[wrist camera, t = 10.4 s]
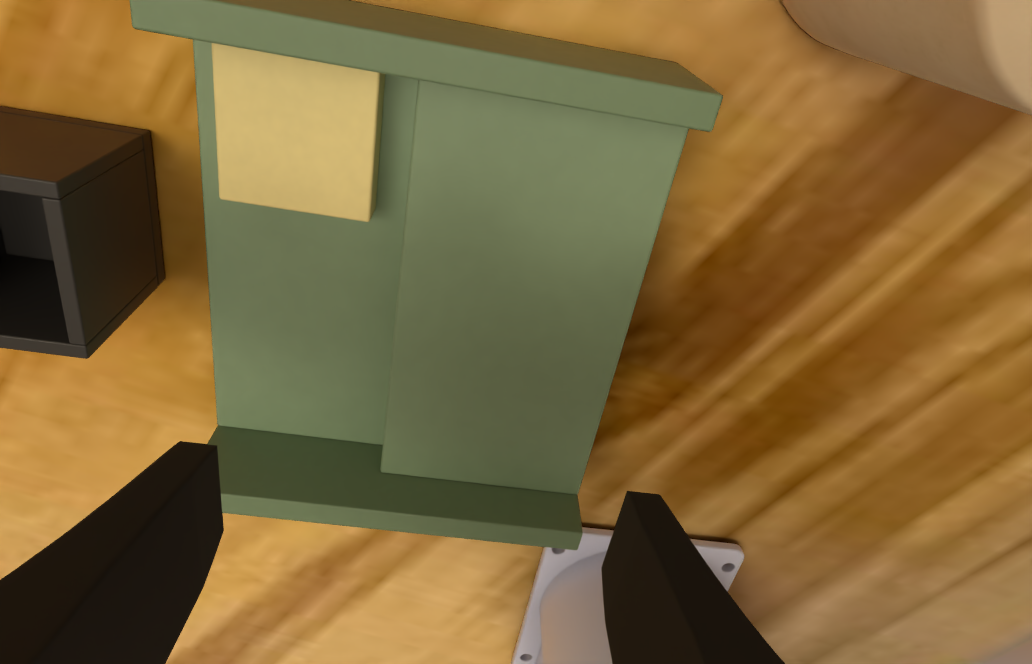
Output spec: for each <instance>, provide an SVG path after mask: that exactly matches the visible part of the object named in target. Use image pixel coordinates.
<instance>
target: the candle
mask: <svg viewBox="0 0 1032 664" xmlns="http://www.w3.org/2000/svg"><path fill="white" fill-rule="evenodd" d="M782 2H783V4H784V6H785V8H786V9H787V11H788V13H789V14H790V16H791V17H792V18H793V19H794V21H795V22H796V23H797V24H798V25H799V26H800V27H801V28H802V29H803V30H804V31H805V32H806V33H808V34H809V35H810V36H811V37H813V38H814V39H816V40H817V41H819V42H821V43H822V44H825V45H827V46H830V47H832V48H835V49H837V50H840V51H842V52H845V53H847V54H850V55H853V56H856V57H859V58H862V59H865V60H868V61H871V62H874V63H877V64H880V65H883V66H886V67H889V68H892V69H895V70H898V71H901V72H904V73H907V74H910V75H913V76H916V77H919V78H922V79H925V80H928V81H931V82H934V83H937V84H940V85H943V86H946V87H949V88H952V89H955V90H958V91H961V92H964V93H967V94H970V95H973V96H976V97H979V98H982V99H985V100H988V101H991V102H994V103H997V104H1000V105H1003V106H1006V107H1009V108H1012V109H1015V110H1018V111H1021V112H1024V113H1027V114H1030V115H1032V0H782Z"/></svg>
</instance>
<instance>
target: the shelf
mask: <svg viewBox="0 0 1032 664" xmlns="http://www.w3.org/2000/svg"><path fill="white" fill-rule="evenodd" d="M130 9H131V18H132V26H133V28H135V29H138V30H143V31H149V32H154V33H160V34H166V35H171V36H177V37H182V38H188V39H193V48H194V64H195V80H196V95H197V111H198V127H199V142H200V158H201V174H202V189H203V205H204V221H205V237H206V252H207V268H208V284H209V299H210V315H211V331H212V346H213V362H214V378H215V393H216V409H217V424H218V426H217V428H216V430H215V432H214V433H213V435H212V437H211V438H210V440H209V442H208V444H209V445H217V450H218V463H219V476H220V489H221V502H222V513H229V514H239V515H248V516H257V517H267V518H276V519H286V520H295V521H304V522H314V523H323V524H333V525H342V526H352V527H361V528H370V529H380V530H389V531H399V532H408V533H417V534H427V535H436V536H446V537H455V538H464V539H474V540H483V541H493V542H502V543H512V544H521V545H530V546H540V547H549V548H559V549H568V550H578V547H579V544H580V541H581V538H582V535H583V531H582V524H581V517H580V510H579V502H578V495H577V494H578V492H579V489H580V486H581V483H582V479H583V476H584V473H585V469H586V466H587V463H588V459H589V456H590V453H591V450H592V446H593V443H594V440H595V436H596V433H597V430H598V427H599V423H600V420H601V417H602V413H603V410H604V407H605V403H606V400H607V397H608V394H609V390H610V387H611V384H612V380H613V377H614V374H615V370H616V367H617V364H618V361H619V357H620V354H621V351H622V347H623V344H624V341H625V338H626V334H627V331H628V328H629V324H630V321H631V318H632V314H633V311H634V308H635V305H636V301H637V298H638V295H639V291H640V288H641V285H642V281H643V278H644V275H645V272H646V268H647V265H648V262H649V258H650V255H651V252H652V249H653V245H654V242H655V239H656V235H657V232H658V229H659V225H660V222H661V219H662V216H663V212H664V209H665V206H666V202H667V199H668V196H669V192H670V189H671V186H672V183H673V179H674V176H675V173H676V169H677V166H678V163H679V160H680V156H681V153H682V150H683V146H684V143H685V140H686V136H687V133H688V130H689V128H690V129H695V130H701V131H706V132H710V131H712V130H713V127H714V124H715V121H716V117H717V114H718V111H719V108H720V105H721V102H722V99H723V95H721V94H720V93H719V92H717V91H716V90H714V89H713V88H712V87H710V86H709V85H707V84H706V83H705V82H703V81H702V80H700V79H699V78H698V77H696V76H695V75H693V74H692V73H691V72H689V71H688V70H686V69H685V68H683V67H682V66H681V65H679V64H678V63H676V62H671V61H666V60H660V59H655V58H650V57H645V56H639V55H634V54H629V53H624V52H618V51H613V50H608V49H602V48H597V47H592V46H587V45H581V44H576V43H571V42H566V41H560V40H555V39H550V38H545V37H539V36H534V35H529V34H524V33H518V32H513V31H508V30H503V29H497V28H492V27H487V26H481V25H476V24H471V23H466V22H460V21H455V20H450V19H445V18H439V17H434V16H429V15H424V14H418V13H413V12H408V11H403V10H397V9H392V8H387V7H381V6H376V5H371V4H366V3H360V2H355V1H350V0H130ZM212 43H216V44H221V45H227V46H233V47H238V48H244V49H249V50H255V51H260V52H266V53H272V54H277V55H283V56H288V57H294V58H299V59H305V60H311V61H316V62H322V63H327V64H333V65H338V66H344V67H350V68H355V69H361V70H366V71H372V72H377V73H383V74H385V85H384V99H383V112H382V126H381V140H380V153H379V167H378V181H377V194H376V208H375V210H374V213H373V215H372V217H371V219H370V221H369V222H364V221H357V220H351V219H344V218H338V217H331V216H325V215H319V214H312V213H306V212H299V211H293V210H286V209H280V208H273V207H267V206H261V205H254V204H248V203H241V202H235V201H228V200H222V199H220V197H219V180H218V161H217V141H216V121H215V102H214V82H213V62H212Z"/></svg>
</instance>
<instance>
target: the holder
mask: <svg viewBox="0 0 1032 664" xmlns="http://www.w3.org/2000/svg"><path fill="white" fill-rule="evenodd" d="M164 279H165V276H164V266H163V256H162V246H161V236H160V226H159V216H158V207H157V197H156V187H155V177H154V167H153V157H152V147H151V137H150V131H148V130H143V129H137V128H131V127H125V126H119V125H112V124H106V123H100V122H94V121H88V120H82V119H76V118H70V117H64V116H58V115H51V114H45V113H39V112H33V111H27V110H21V109H15V108H9V107H3V106H0V348H7V349H15V350H23V351H31V352H39V353H46V354H54V355H62V356H70V357H78V358H86V359H87V358H89V357H90V356H91V355H92V354H93V353H94V352H95V351H96V350H97V349H98V348H99V347H100V346H101V345H102V344H103V343H104V342H105V341H106V340H107V338H108V337H109V336H110V335H111V334H112V333H113V332H114V331H115V330H116V329H117V328H118V327H119V326H120V325H121V324H122V323H123V322H124V321H125V320H126V319H127V318H128V317H129V316H130V315H131V314H132V313H133V312H134V311H135V310H136V309H137V308H138V307H139V306H140V305H141V304H142V303H143V301H144V300H145V299H146V298H147V297H148V296H149V295H150V294H151V293H152V292H153V291H154V290H155V289H156V288H157V287H158V286H159V285H160V284H161V283H162V282H163V281H164Z"/></svg>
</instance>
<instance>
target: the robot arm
mask: <svg viewBox="0 0 1032 664" xmlns="http://www.w3.org/2000/svg"><path fill="white" fill-rule="evenodd" d="M223 531H224V528H223V515H222V502H221V489H220V476H219V463H218V450H217V445H209V444H200V443H191V442H182V441H180V442H179V443H177V444H176V445H174V446H173V447H172V448H171V449H169V450H168V451H167V452H166V453H164V454H163V455H162V456H161V457H160V458H158V459H157V460H156V461H155V462H154V463H152V464H151V465H150V466H149V467H148V468H146V469H145V470H144V471H143V472H142V473H140V474H139V475H138V476H137V477H135V478H134V479H133V480H132V481H131V482H129V483H128V484H127V485H126V486H124V487H123V488H122V489H121V490H120V491H118V492H117V493H116V494H115V495H113V496H112V497H111V498H110V499H109V500H107V501H106V502H105V503H103V504H102V505H101V506H100V507H98V508H97V509H96V510H94V511H93V512H92V513H91V514H89V515H88V516H87V517H86V518H84V519H83V520H82V521H80V522H79V523H78V524H77V525H75V526H74V527H73V528H72V529H70V530H69V531H68V532H66V533H65V534H64V535H62V536H61V537H60V538H58V539H57V540H56V541H54V542H53V543H51V544H50V545H49V546H47V547H46V548H44V549H43V550H42V551H40V552H39V553H37V554H36V555H35V556H33V557H32V558H31V559H29V560H28V561H26V562H25V563H24V564H22V565H21V566H19V567H18V568H17V569H15V570H14V571H12V572H11V573H10V574H8V575H7V576H5V577H4V578H2V579H1V580H0V664H165V663H166V661H167V659H168V657H169V655H170V653H171V651H172V649H173V647H174V645H175V643H176V641H177V639H178V637H179V635H180V633H181V631H182V629H183V627H184V625H185V623H186V621H187V619H188V617H189V615H190V613H191V611H192V609H193V607H194V605H195V603H196V601H197V599H198V597H199V595H200V593H201V591H202V589H203V587H204V584H205V581H206V578H207V576H208V573H209V570H210V568H211V565H212V562H213V560H214V557H215V554H216V551H217V548H218V545H219V542H220V539H221V537H222V534H223ZM582 531H583V535H582V538H581V541H580V544H579V547H578V550H568V549H559V548H549V547H544V548H543V552H542V555H541V559H540V562H539V566H538V569H537V573H536V576H535V580H534V583H533V587H532V590H531V594H530V597H529V601H528V605H527V608H526V612H525V615H524V619H523V622H522V626H521V629H520V633H519V636H518V640H517V643H516V647H515V650H514V654H513V657H512V661H511V664H785V663H784V662H783V661H782V660H781V659H780V657H779V656H778V655H777V654H776V653H775V652H774V650H773V649H772V648H771V647H770V646H769V644H768V643H767V642H766V641H765V639H764V638H763V637H762V636H761V635H760V633H759V632H758V631H757V630H756V628H755V627H754V626H753V625H752V623H751V622H750V621H749V620H748V618H747V617H746V616H745V615H744V613H743V612H742V611H741V609H740V608H739V607H738V605H737V604H736V603H735V601H734V600H733V599H732V597H731V596H730V595H729V593H728V592H727V591H728V589H729V587H730V585H731V584H732V582H733V580H734V578H735V576H736V574H737V572H738V570H739V568H740V566H741V564H742V562H743V560H744V554H743V551H742V549H741V547H740V546H739V545H737V544H732V543H723V542H714V541H705V540H696V539H690V538H689V537H688V535H687V534H686V532H685V531H684V529H683V528H682V526H681V525H680V523H679V522H678V520H677V519H676V517H675V516H674V514H673V513H672V511H671V510H670V509H669V507H668V506H667V504H666V503H665V501H664V500H663V498H662V497H661V496H660V495H659V494H650V493H641V492H632V491H627V493H626V496H625V499H624V502H623V505H622V508H621V511H620V514H619V517H618V520H617V523H616V526H615V529H614V530H605V529H596V528H587V527H582Z"/></svg>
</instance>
